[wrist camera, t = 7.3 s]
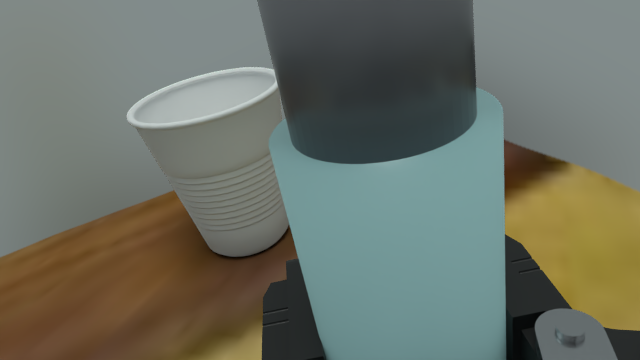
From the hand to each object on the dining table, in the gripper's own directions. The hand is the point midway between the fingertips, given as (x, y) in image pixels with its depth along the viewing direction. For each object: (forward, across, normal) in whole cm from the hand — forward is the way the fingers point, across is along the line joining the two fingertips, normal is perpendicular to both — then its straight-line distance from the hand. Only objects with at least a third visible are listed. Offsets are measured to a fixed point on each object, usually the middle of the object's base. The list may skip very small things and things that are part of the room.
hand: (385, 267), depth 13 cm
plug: (-3, 0, +10) cm, 11 cm away
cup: (+20, +8, +11) cm, 24 cm away
